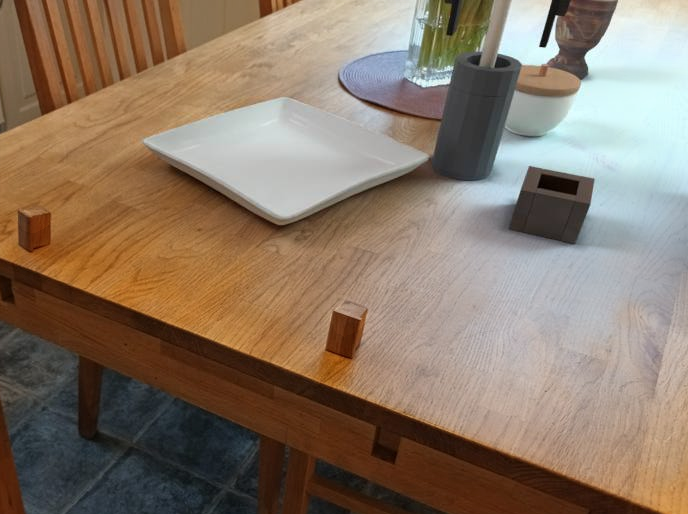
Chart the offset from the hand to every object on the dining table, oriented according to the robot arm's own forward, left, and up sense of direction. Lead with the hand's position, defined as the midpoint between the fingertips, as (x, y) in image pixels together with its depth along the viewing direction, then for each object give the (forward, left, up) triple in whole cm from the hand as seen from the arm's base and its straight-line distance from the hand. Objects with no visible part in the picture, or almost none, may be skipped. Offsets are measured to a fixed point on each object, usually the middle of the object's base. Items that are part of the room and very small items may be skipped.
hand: (496, 38), depth 87 cm
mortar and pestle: (-9, -52, -17) cm, 55 cm away
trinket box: (-6, -19, -17) cm, 26 cm away
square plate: (+21, +13, -17) cm, 30 cm away
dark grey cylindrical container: (0, 0, -17) cm, 17 cm away
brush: (0, 0, -16) cm, 16 cm away
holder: (-12, +11, -17) cm, 23 cm away
